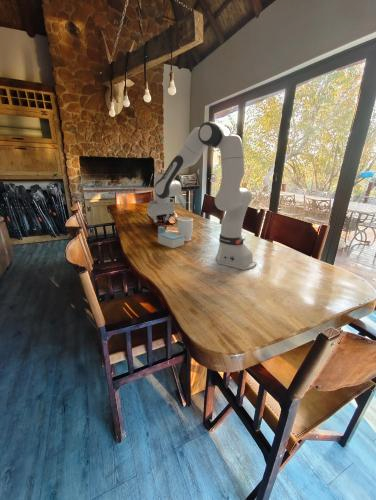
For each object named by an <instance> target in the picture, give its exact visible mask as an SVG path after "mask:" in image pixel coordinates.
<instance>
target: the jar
mask: <svg viewBox="0 0 376 500" xmlns="http://www.w3.org/2000/svg"><path fill="white" fill-rule="evenodd" d="M193 222H194V218H192V217H187V216H186V217H185V216H184V217H178V218H177V233H178V234H181V235H185V237H184V242H188V241H192V235H193V230H194V223H193Z"/></svg>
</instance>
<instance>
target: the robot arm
mask: <svg viewBox="0 0 376 500" xmlns="http://www.w3.org/2000/svg"><path fill="white" fill-rule="evenodd" d="M208 147H211V148H214V149H219V151H220V165H221V167H220V168H221V178H220V185H219V189H218V192H217V193H216V194H215V196H214V205H215V207H216V208H217V209H218V210H220V211H223V212H225V214H224V216H223V218H222V220H221V226H220V234H219V238H218V239H219V240H218V241H219V244H218V249H217V254H216V256H215V260H216V261H217V264H219V265H223V266H227V267H230V268H234V269H237V270H243V271H245V270H246V271H247V270H250V269H252V268H254V267H256V266H257V261H256V260H254V259H253V258H254V257H253V252H252V251H251V250H250V249H249V247H248V246H246V244H244V243H245V242H244V241H245V240H246V238H245V237H244V238H243V236H242V230H243V223H244V219H245V216H246V213H247V211H248V207H249V205H250V204H251V202H252V200H253V194H252V192H251V190H250V189H248V188H245V187H242V186H241V185H242V184H241V182H242V180H243V178H244V175H245V158H244V147H243V141H242V138H241V137H240V136H239V135H238V134H233V132H232V130H231V129H230V128H229V127H228V126H227V125H223V124H222V123H220V122H214V121H212V120H210V121H206V122H204V123H202V124H201V125H200V126H198V127H197V126H196V127H194V128H193V129H192V131H191V132H190V133H189V135H188V136H187V138H186V140H185V141H184V144H183V145H182V147H181V149H180V150H179V151H178V153H176V156H175V157H174V158H173V159H172V160H171V161H170V163H169V165H168V167H167V168H166V170H165V171H164V173H157V174H155V175H154V179H153V180H154V181H153V188H154V193H153V198H154V199H153V200H151V201H149V202H148V203H147V215H148V217H151V218H152V219H153V222H154V223H158V218H157V216H162V215H166V216H165V217H164V221H169V217H170V214H173V213H174V212H175V199H174V198H172V197H177V196H179V195H180V194H181V192H182V188H183V187H182V184H181V182H180V181H179V180H176V179H175V178H176V177H177V175H178V174H179V173H180V172H181V171H182V170H185V169H186V168H189V167H192V166H194V165H196V163H197V162H198V161H199V160H200V158H201V156H203V153H204V152H205V149H206V148H208Z"/></svg>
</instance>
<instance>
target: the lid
mask: <svg viewBox="0 0 376 500" xmlns="http://www.w3.org/2000/svg"><path fill="white" fill-rule="evenodd" d="M158 235H159V236H162V237H165V238H168V239H171V240H176V239H179V238H183V237H185V235H181V234H178V232H174V231H173V230H172V231H170V230H167V231H166V226H161V225H160V226H158V227H157V236H158Z"/></svg>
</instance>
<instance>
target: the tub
mask: <svg viewBox="0 0 376 500" xmlns="http://www.w3.org/2000/svg"><path fill="white" fill-rule="evenodd" d="M157 241H158V244H160V245H163V246H165V247H168V248H171V249H175V248H178V247H183V246H184V245H185V241H184V237H183V238H179V239H176V240H171V239H168V238H165V237H162V236H159V235H157Z"/></svg>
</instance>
